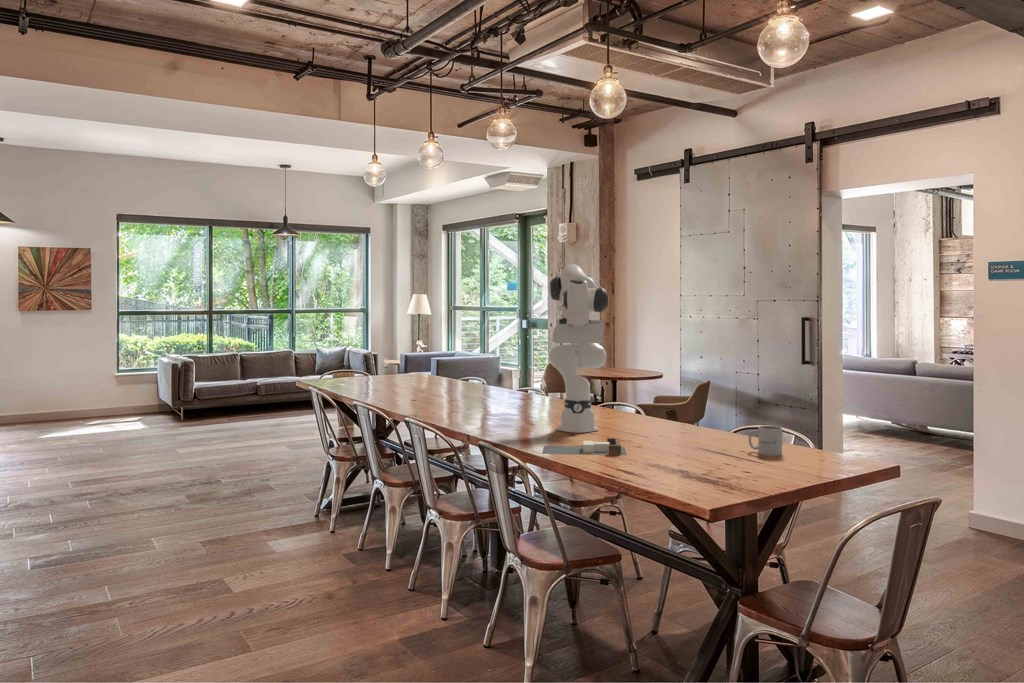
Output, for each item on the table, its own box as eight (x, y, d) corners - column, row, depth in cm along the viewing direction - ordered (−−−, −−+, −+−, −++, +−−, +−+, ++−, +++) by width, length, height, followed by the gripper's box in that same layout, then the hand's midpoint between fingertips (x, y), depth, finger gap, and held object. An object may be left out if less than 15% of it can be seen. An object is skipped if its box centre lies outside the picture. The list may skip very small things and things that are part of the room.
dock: (607, 446, 299) (607, 437, 299) (618, 446, 298) (618, 438, 298) (608, 454, 283) (608, 445, 283) (620, 454, 282) (621, 445, 282)
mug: (785, 453, 287) (786, 427, 287) (775, 456, 281) (776, 430, 281) (755, 449, 296) (755, 423, 295) (745, 452, 290) (745, 426, 289)
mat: (543, 446, 301) (543, 445, 301) (624, 448, 298) (624, 446, 298) (542, 454, 285) (542, 453, 285) (626, 456, 282) (626, 454, 282)
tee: (583, 448, 296) (583, 440, 296) (608, 448, 295) (608, 440, 295) (583, 452, 287) (583, 444, 287) (609, 453, 286) (609, 445, 286)
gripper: (603, 319, 301) (603, 354, 302) (553, 319, 303) (552, 353, 304) (604, 320, 295) (604, 355, 296) (552, 320, 297) (552, 354, 298)
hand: (577, 354), depth 300 cm, fingers closed
